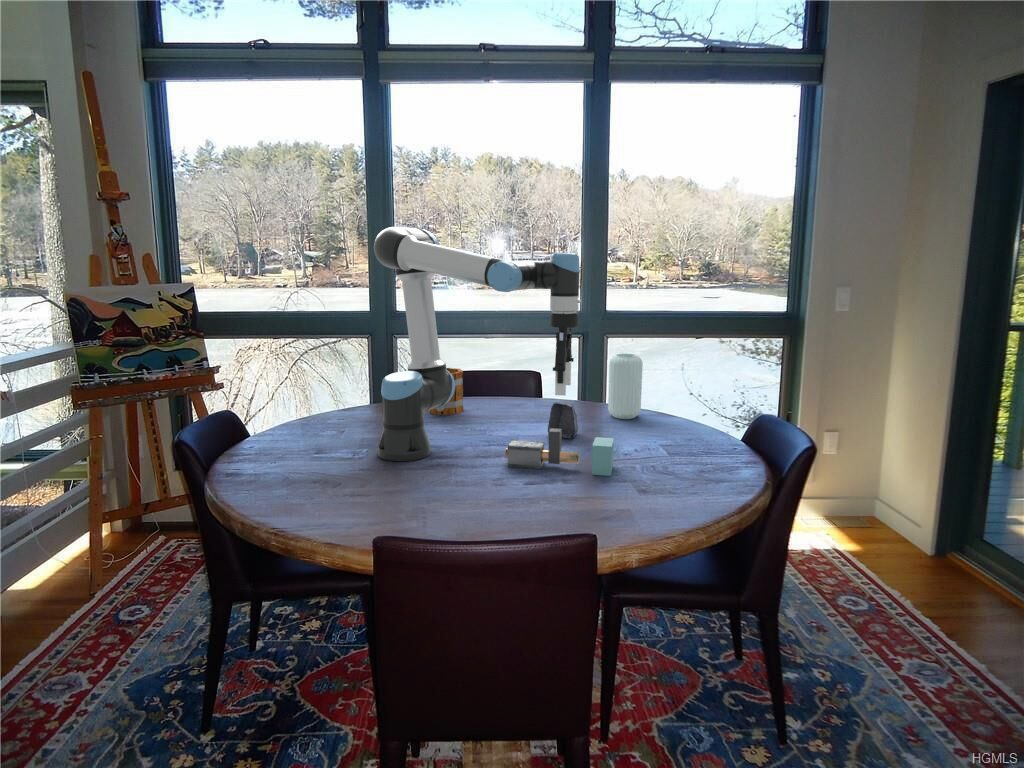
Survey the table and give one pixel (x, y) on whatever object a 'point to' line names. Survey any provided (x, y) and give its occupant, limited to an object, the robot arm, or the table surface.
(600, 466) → the socket
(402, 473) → the table surface
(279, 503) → the table surface
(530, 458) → the sleeve
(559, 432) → the hammer
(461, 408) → the mug
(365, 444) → the table surface
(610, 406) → the vase
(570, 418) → the stone
